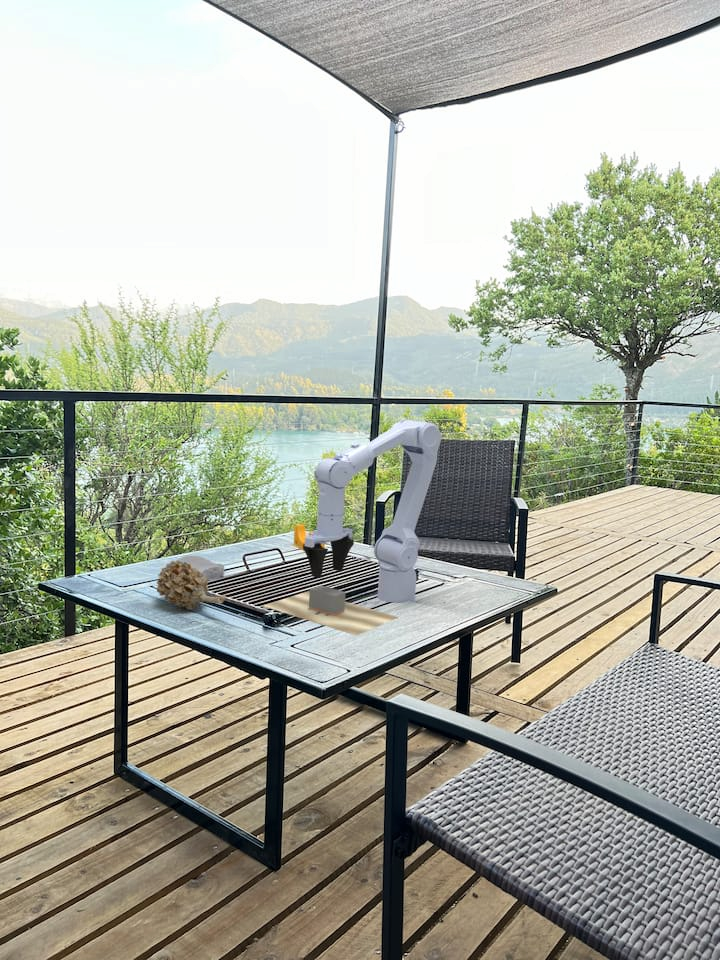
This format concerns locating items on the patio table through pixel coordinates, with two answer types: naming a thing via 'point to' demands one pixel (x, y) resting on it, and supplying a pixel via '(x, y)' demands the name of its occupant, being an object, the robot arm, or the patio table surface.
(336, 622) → the board
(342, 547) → the robot arm
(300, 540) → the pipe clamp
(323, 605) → the block
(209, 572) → the stone block
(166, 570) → the dried flower head
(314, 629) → the patio table surface
